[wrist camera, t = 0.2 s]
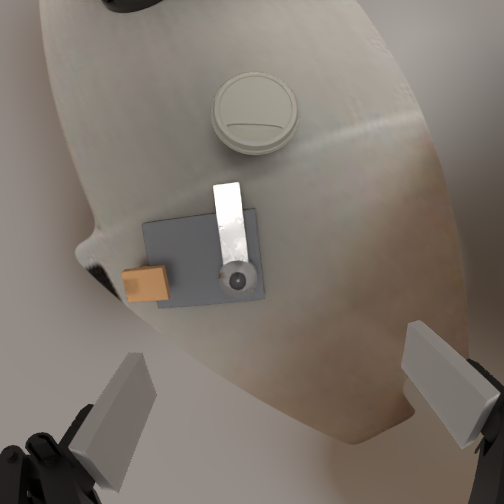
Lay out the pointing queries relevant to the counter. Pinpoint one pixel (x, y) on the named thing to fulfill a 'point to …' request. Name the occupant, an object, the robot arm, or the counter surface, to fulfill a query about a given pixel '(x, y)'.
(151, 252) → the board
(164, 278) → the block
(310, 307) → the counter surface
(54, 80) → the counter surface
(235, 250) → the link
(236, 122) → the coffee cup
